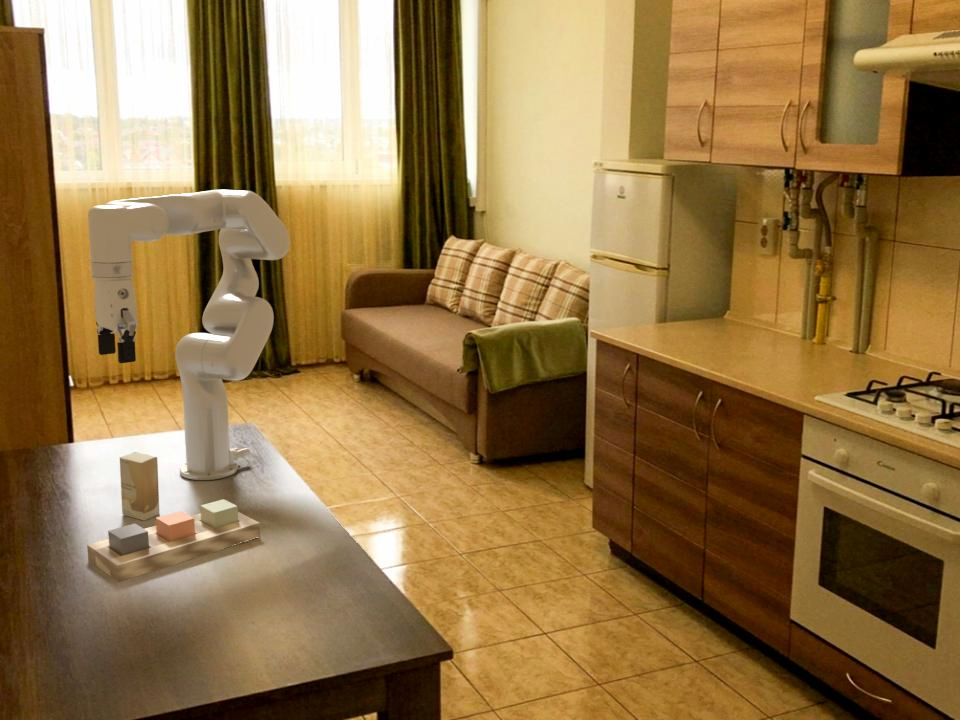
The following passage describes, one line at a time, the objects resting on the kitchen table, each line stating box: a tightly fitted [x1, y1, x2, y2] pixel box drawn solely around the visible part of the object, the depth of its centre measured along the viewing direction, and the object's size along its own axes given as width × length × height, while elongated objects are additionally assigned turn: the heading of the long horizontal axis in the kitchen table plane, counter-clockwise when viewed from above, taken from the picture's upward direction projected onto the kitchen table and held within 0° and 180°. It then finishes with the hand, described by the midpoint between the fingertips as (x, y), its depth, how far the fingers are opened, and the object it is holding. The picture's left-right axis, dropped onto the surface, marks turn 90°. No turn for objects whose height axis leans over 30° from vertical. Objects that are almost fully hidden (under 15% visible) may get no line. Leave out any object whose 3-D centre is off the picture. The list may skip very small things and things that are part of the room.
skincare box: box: [119, 451, 160, 521], centre depth 202 cm, size 6×4×12 cm
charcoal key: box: [107, 523, 149, 556], centre depth 181 cm, size 5×5×4 cm
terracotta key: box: [155, 510, 195, 542], centre depth 187 cm, size 5×5×4 cm
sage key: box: [199, 498, 239, 529], centre depth 193 cm, size 5×5×4 cm
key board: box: [86, 511, 261, 583], centre depth 187 cm, size 28×12×3 cm, turn 134°
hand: (117, 358), depth 199 cm, fingers open, 9 cm apart
